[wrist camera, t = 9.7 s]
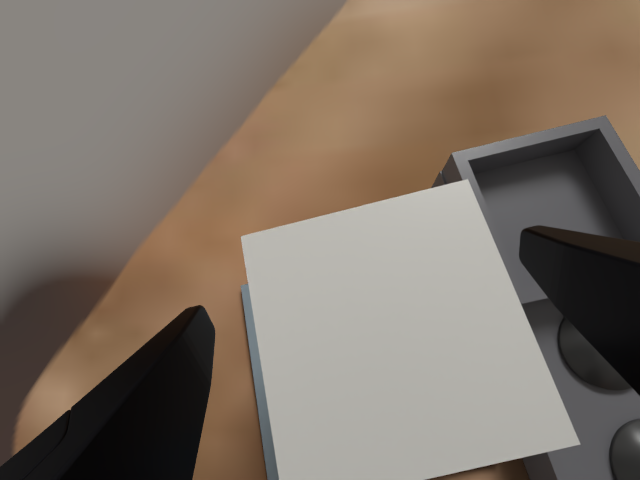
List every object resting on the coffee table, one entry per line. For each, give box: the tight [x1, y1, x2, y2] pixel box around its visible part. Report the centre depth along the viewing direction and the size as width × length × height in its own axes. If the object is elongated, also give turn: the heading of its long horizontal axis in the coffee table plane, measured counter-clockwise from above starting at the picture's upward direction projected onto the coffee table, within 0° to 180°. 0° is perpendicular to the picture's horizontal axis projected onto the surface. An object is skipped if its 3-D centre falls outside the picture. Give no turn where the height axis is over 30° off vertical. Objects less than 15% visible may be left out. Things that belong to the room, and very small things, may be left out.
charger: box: [241, 179, 580, 480], centre depth 10 cm, size 4×4×10 cm
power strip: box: [432, 115, 640, 480], centre depth 12 cm, size 16×7×4 cm, turn 12°
